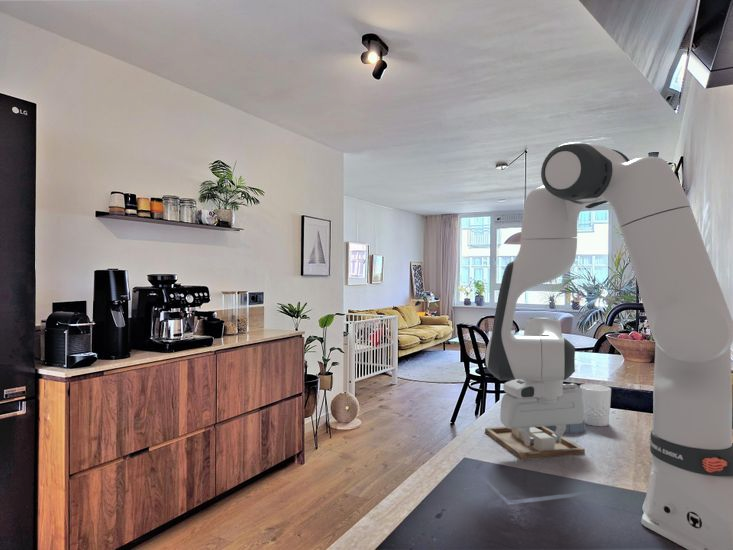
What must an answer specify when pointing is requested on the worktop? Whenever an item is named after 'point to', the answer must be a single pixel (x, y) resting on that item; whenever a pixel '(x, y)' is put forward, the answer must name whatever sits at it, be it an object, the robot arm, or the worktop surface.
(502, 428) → the tray
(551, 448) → the white small block
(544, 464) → the worktop surface
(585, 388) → the white cup
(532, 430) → the cream white small block
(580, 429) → the bowl
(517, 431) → the cream small block
